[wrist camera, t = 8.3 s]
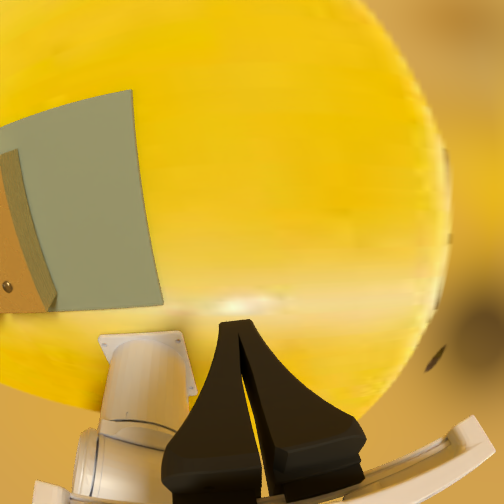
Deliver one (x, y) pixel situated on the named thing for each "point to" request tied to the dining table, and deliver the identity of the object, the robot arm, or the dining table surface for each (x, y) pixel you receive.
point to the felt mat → (88, 202)
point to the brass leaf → (20, 247)
